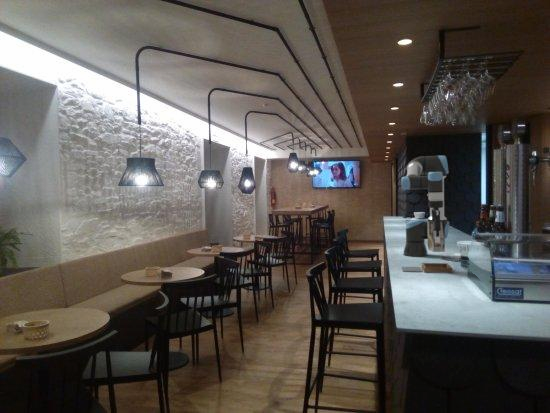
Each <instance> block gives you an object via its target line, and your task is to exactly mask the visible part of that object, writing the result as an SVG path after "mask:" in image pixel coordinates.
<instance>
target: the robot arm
mask: <svg viewBox="0 0 550 413" xmlns="http://www.w3.org/2000/svg"><path fill="white" fill-rule="evenodd" d="M406 172H407V173H406V175H405V176H403V177H401V180H400V181H401V182H400V183H401V189H402V190H406V191H407V190H408V191H409V190H427V192H428V193H427V194H426V196H427V197H428V202H427V204H428V206H427V208H429V217H428V218H427V221H434V222H435V229H434V231H435V243H440V230H441V227H440V221H442V222H445V240H446V239H447V238H448V236H449V230H450V229H449V228H450V227H449V226H450V221H448V219H447V217H446V216H445V180H444V179H445V178H446V177H447V175H448V174H449V173H450V172H449V165H448V159H447V156H446V155H438V154H437V155H426V156H418V157H415V158H413V159H412V160H410V161H409V162H408V164H407V165H406ZM427 221H425V219H424V218H421V219H412V220H408V221H406V223H405V240H406V241H405V246H404V249H403V255H404V256H406V257H425V256H426V257H427V256H428V255H429V252H428V248H427V246H426V244H425V240H428V222H427Z"/></svg>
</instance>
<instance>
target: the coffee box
mask: <svg viewBox="0 0 550 413" xmlns="http://www.w3.org/2000/svg"><path fill="white" fill-rule="evenodd" d="M426 222H428V239H427V251H428V250H429V251H431V252H432V253H444V252H446V250H445V249H446V247H445V246H446V244H445V242H446V239H445V222H442V221H440V227H441V230H440V243H435V231H434V229H435V222H434V221H428V220H427V221H426Z"/></svg>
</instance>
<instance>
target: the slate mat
mask: <svg viewBox="0 0 550 413" xmlns="http://www.w3.org/2000/svg"><path fill="white" fill-rule="evenodd" d="M401 270H402V272H403V273H423V269H422V267H421V266H401Z"/></svg>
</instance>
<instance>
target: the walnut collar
mask: <svg viewBox="0 0 550 413" xmlns="http://www.w3.org/2000/svg"><path fill="white" fill-rule="evenodd" d="M421 270H422V272H424V273H428V274H429V273H431V274H432V273H433V274H435V273H436V274H444V273H445V274H453V268H452V266H451V265H450V263H449V262H446V263H445V262H444V263H443V262H442V263H441V262H440V263H439V262H436V263H435V262H434V263H433V262H432V263H431V262H428V263H427V262H422V263H421Z"/></svg>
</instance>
